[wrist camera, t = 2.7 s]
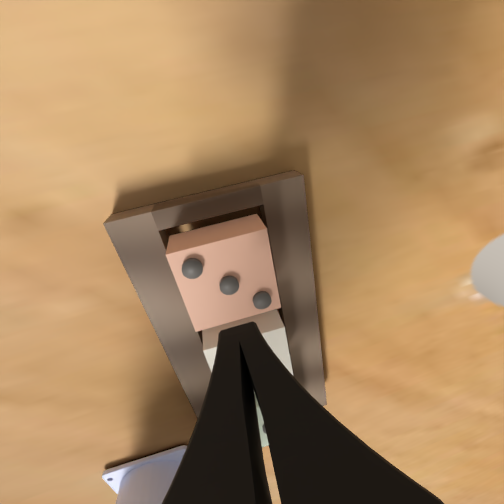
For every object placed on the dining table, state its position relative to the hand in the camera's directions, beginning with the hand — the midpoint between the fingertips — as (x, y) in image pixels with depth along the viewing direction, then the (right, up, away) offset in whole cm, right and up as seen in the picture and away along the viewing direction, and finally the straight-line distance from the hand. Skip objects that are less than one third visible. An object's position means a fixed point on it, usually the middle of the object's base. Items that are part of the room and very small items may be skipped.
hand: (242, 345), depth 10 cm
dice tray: (0, -2, +10) cm, 11 cm away
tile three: (-1, +3, +6) cm, 7 cm away
